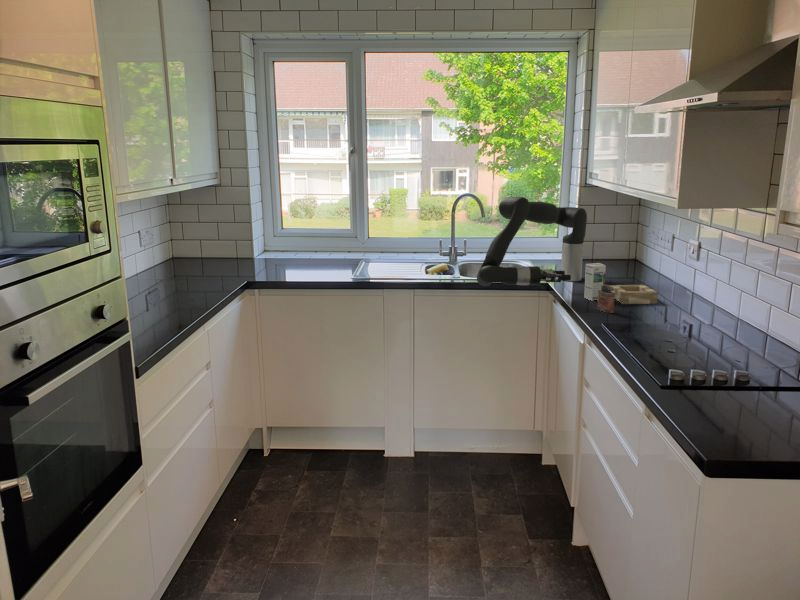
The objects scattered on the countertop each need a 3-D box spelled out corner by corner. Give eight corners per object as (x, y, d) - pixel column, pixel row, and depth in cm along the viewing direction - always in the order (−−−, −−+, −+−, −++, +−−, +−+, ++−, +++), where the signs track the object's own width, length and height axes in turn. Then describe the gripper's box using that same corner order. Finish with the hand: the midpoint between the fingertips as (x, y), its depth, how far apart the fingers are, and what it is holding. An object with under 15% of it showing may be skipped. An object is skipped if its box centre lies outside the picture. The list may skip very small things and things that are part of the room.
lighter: (594, 309, 239) (596, 283, 237) (601, 308, 240) (603, 282, 238) (608, 314, 232) (610, 287, 229) (616, 313, 233) (617, 287, 231)
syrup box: (591, 301, 251) (593, 265, 248) (583, 298, 257) (585, 263, 253) (604, 300, 253) (606, 264, 249) (595, 297, 258) (598, 262, 255)
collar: (608, 295, 260) (609, 285, 259) (642, 295, 260) (643, 284, 259) (621, 304, 246) (622, 293, 245) (656, 303, 246) (657, 292, 245)
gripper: (531, 269, 243) (573, 269, 244) (523, 263, 257) (563, 263, 258) (531, 288, 245) (572, 288, 246) (522, 281, 259) (561, 281, 259)
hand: (567, 275), depth 252 cm, fingers open, 8 cm apart
